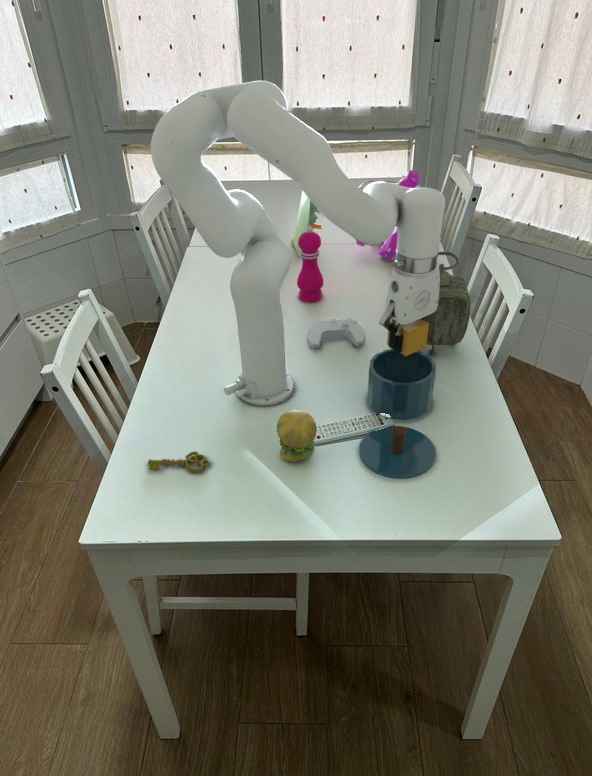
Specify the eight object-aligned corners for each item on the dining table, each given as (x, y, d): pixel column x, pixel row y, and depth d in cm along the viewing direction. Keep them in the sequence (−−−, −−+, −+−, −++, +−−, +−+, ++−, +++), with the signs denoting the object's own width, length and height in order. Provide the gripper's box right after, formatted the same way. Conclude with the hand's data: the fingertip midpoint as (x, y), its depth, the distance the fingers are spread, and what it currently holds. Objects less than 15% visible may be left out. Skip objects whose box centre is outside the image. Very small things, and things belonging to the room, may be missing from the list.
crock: (397, 430, 129) (401, 393, 123) (354, 399, 137) (356, 362, 131) (444, 405, 135) (449, 368, 129) (400, 376, 143) (403, 340, 137)
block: (405, 356, 123) (408, 332, 120) (386, 344, 127) (389, 320, 123) (425, 347, 126) (429, 323, 122) (406, 335, 129) (409, 312, 126)
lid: (395, 492, 115) (397, 467, 111) (343, 450, 124) (344, 426, 121) (451, 458, 122) (455, 434, 118) (398, 420, 131) (400, 397, 127)
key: (145, 467, 120) (151, 449, 124) (146, 472, 121) (152, 454, 125) (207, 469, 119) (211, 451, 123) (207, 473, 120) (211, 456, 124)
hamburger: (306, 441, 127) (305, 394, 119) (324, 463, 122) (324, 414, 114) (272, 454, 124) (268, 406, 116) (288, 476, 119) (286, 428, 111)
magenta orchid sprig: (304, 138, 186) (418, 151, 191) (292, 219, 209) (395, 229, 213) (307, 199, 169) (433, 212, 173) (294, 280, 192) (405, 290, 196)
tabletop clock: (459, 341, 154) (474, 244, 138) (463, 361, 147) (480, 262, 132) (399, 340, 155) (408, 243, 139) (401, 360, 148) (410, 261, 132)
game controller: (307, 343, 149) (304, 314, 156) (307, 356, 153) (304, 328, 159) (368, 339, 150) (362, 311, 156) (366, 352, 153) (361, 324, 160)
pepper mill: (320, 304, 170) (320, 232, 158) (294, 302, 172) (292, 231, 159) (325, 291, 176) (325, 221, 163) (300, 289, 177) (298, 220, 164)
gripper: (395, 280, 108) (387, 367, 120) (464, 254, 116) (450, 338, 128) (366, 265, 113) (361, 350, 125) (434, 241, 121) (423, 323, 132)
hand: (406, 343), depth 126 cm, fingers closed on block, 5 cm apart
